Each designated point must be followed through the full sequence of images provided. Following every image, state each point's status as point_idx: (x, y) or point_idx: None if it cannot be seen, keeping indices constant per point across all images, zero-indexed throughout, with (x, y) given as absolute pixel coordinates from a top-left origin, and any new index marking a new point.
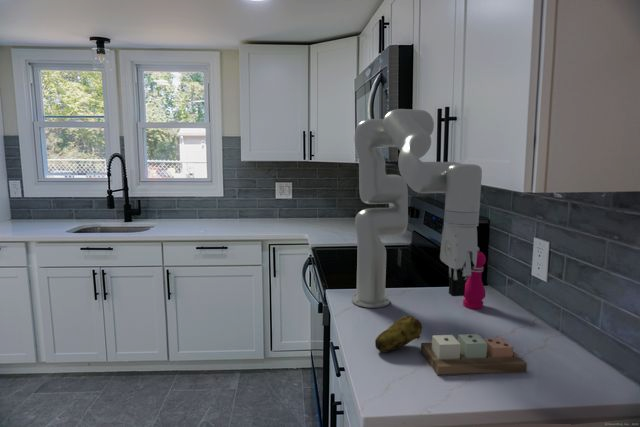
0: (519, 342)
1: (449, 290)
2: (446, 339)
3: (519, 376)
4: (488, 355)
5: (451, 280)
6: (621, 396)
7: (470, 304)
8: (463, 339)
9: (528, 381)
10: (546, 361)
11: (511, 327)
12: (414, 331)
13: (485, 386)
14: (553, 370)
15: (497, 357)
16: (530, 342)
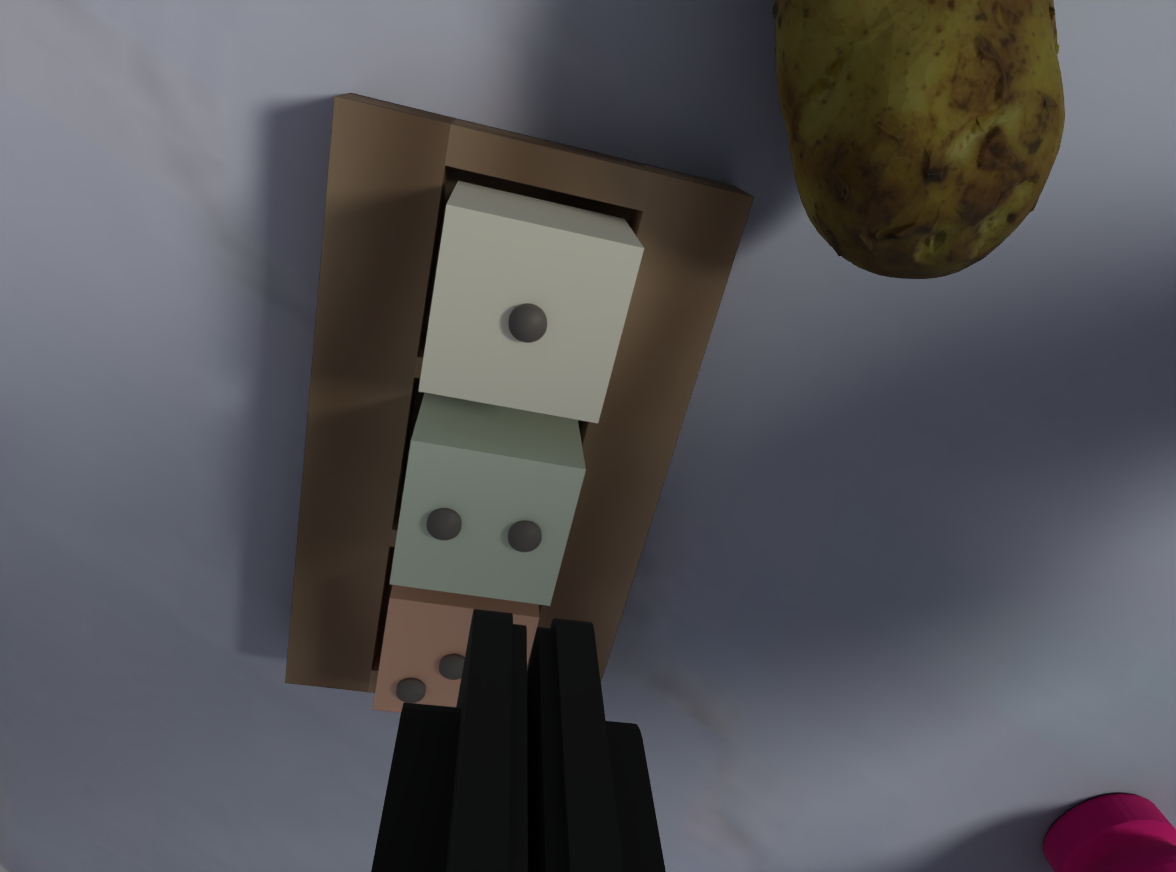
0: None
1: (569, 658)
2: (514, 319)
3: (262, 587)
4: None
5: (507, 862)
6: (37, 854)
7: (1097, 827)
8: (492, 460)
9: (203, 597)
10: None
11: (776, 850)
12: (800, 131)
13: (168, 339)
14: (298, 762)
15: None
16: None
